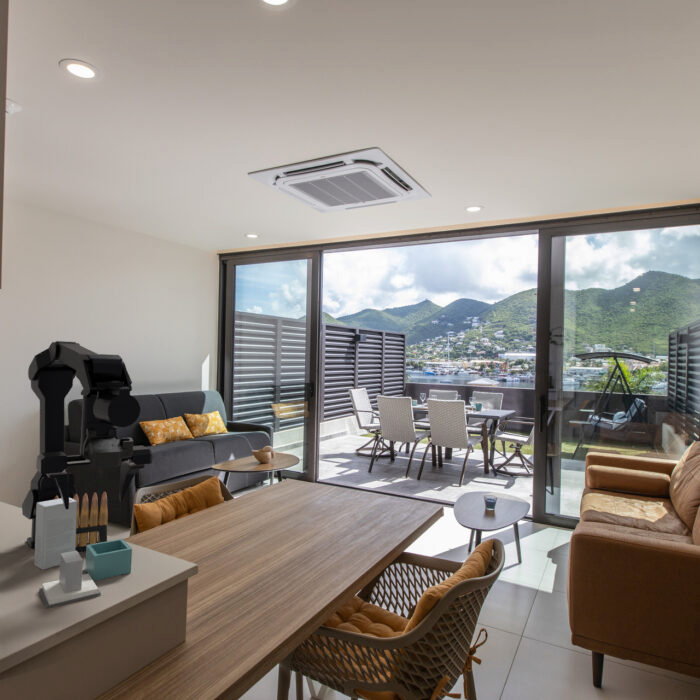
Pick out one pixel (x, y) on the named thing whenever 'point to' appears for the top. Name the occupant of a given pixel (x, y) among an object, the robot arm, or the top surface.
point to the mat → (64, 601)
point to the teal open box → (108, 559)
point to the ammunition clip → (90, 522)
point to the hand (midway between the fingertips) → (94, 505)
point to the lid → (69, 581)
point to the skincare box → (54, 531)
